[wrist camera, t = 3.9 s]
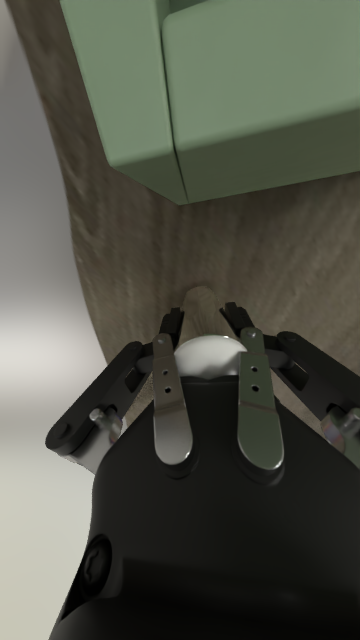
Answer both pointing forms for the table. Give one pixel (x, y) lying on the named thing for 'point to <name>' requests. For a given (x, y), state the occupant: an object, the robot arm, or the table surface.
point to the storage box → (221, 90)
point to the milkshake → (206, 338)
